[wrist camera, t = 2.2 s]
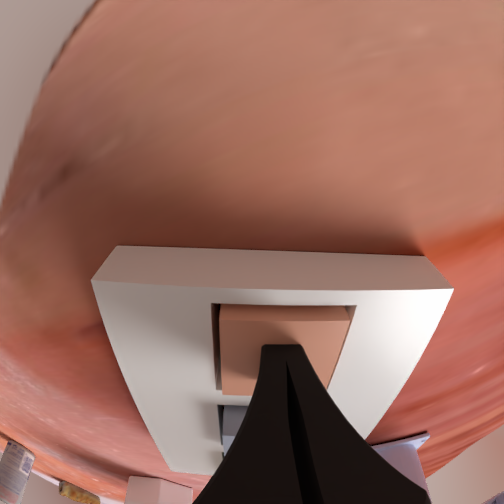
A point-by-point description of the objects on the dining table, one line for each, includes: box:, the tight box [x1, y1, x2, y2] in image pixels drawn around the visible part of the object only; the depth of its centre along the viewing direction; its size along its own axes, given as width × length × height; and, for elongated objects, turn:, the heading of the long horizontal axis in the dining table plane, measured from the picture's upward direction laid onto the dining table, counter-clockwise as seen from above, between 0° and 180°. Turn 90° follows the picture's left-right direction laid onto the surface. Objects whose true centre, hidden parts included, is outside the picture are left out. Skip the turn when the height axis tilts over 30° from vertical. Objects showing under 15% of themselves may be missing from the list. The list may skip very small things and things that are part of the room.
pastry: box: [59, 481, 100, 504], centre depth 37 cm, size 9×7×4 cm
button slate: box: [222, 405, 248, 457], centre depth 13 cm, size 4×4×3 cm
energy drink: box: [0, 440, 35, 504], centre depth 23 cm, size 5×5×12 cm
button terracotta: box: [219, 303, 350, 396], centre depth 11 cm, size 4×4×3 cm
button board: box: [91, 245, 454, 475], centre depth 14 cm, size 18×13×2 cm
